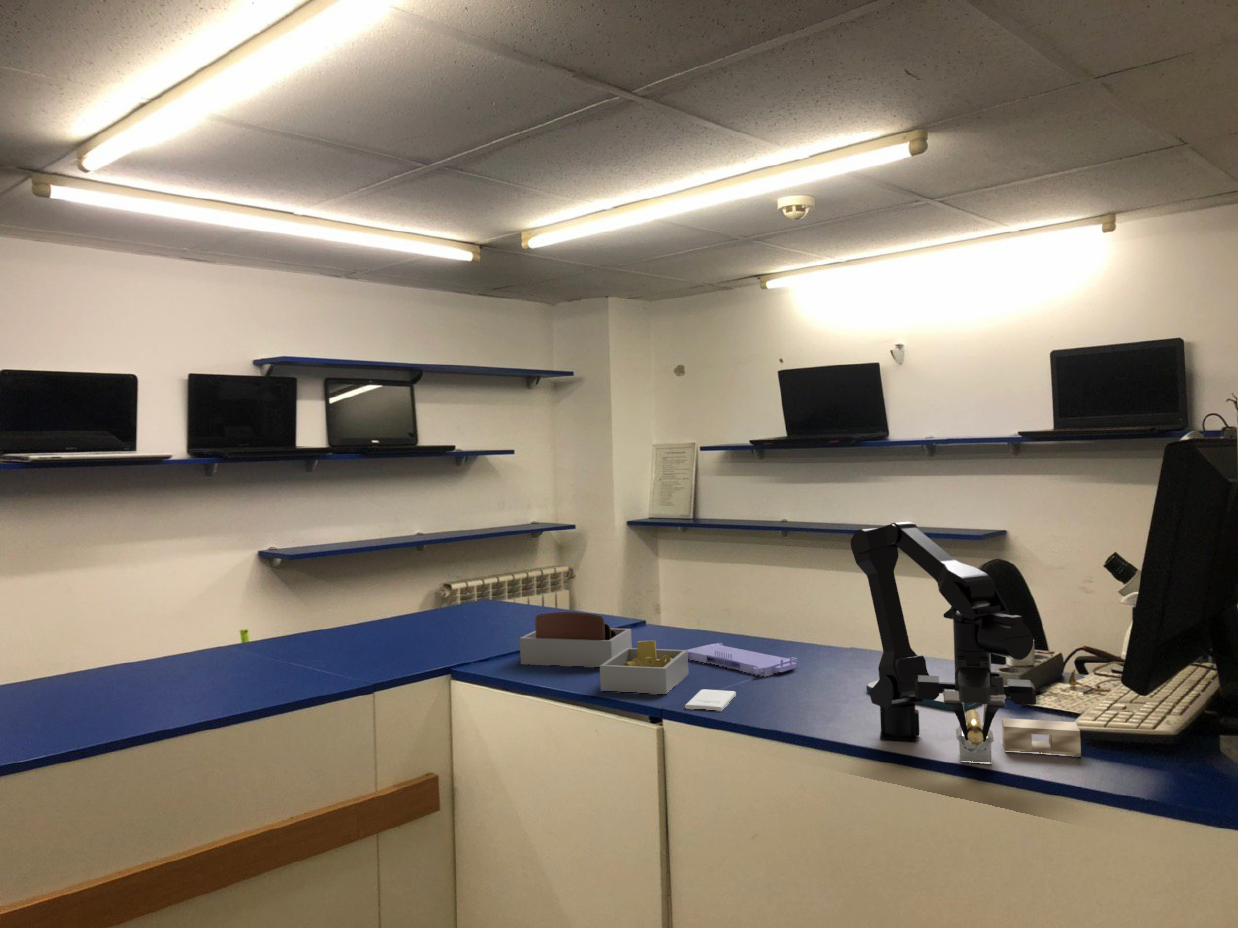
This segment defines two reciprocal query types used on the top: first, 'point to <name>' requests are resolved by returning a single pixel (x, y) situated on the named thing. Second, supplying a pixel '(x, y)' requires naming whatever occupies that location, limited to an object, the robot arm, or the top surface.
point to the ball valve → (648, 656)
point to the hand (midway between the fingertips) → (975, 740)
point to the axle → (974, 727)
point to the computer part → (741, 659)
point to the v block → (974, 748)
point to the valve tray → (644, 672)
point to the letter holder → (572, 626)
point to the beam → (1060, 734)
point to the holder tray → (572, 650)
